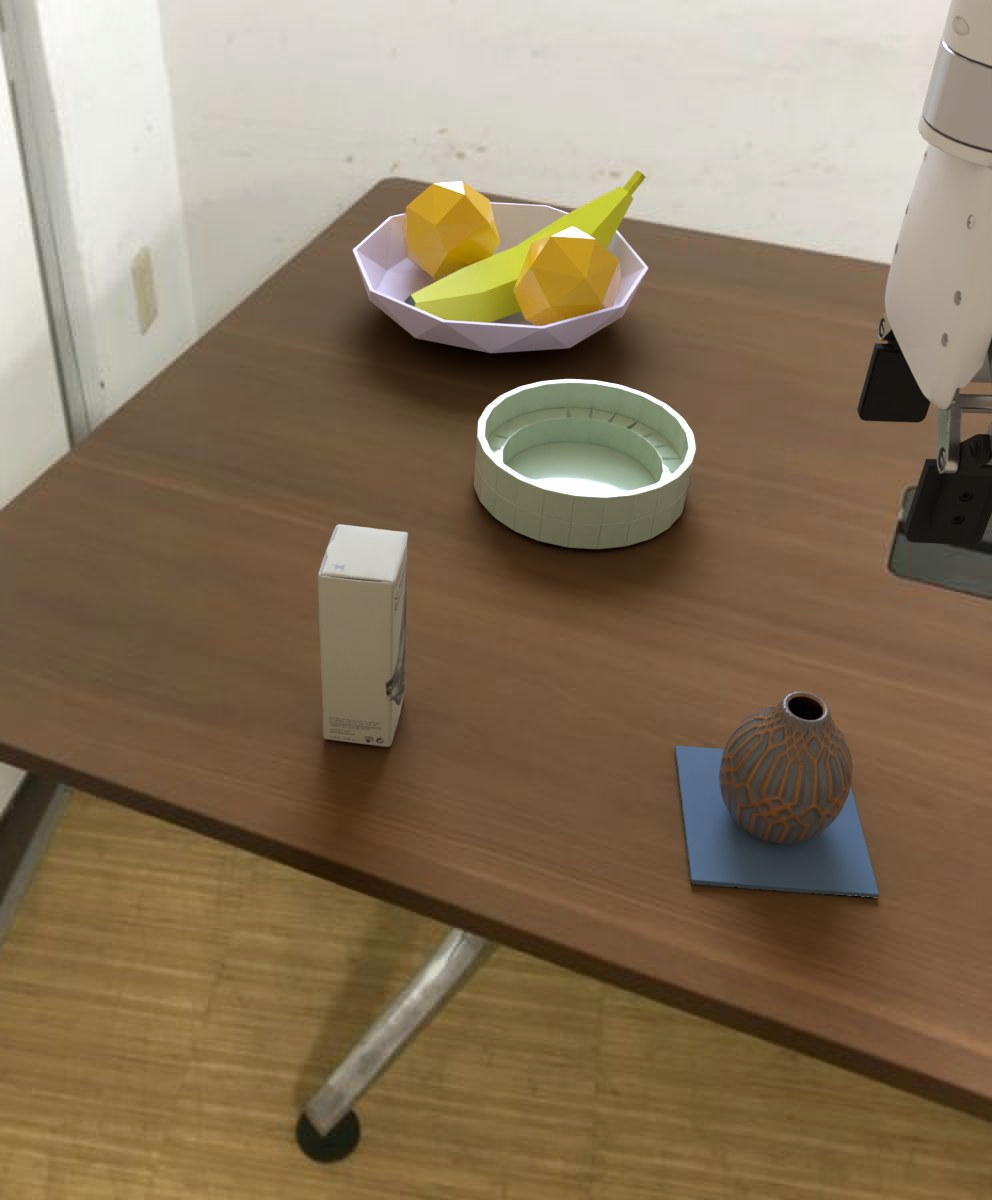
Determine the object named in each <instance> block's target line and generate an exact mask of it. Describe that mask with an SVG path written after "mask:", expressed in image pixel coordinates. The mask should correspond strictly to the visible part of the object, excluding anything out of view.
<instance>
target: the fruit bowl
mask: <svg viewBox="0 0 992 1200" xmlns="http://www.w3.org/2000/svg"><path fill="white" fill-rule="evenodd" d="M645 179H646V176H645V174H644V173H643V172H642V171H639V170H638V169H636V171H634V173H633V174H632V176H631V177H630V178H629V179H628V181H627V182H626V183H625V185H624V186H621V185H620V186H617V187H616V188H614V189H612V190H610V191H608V192H606V193H604V194H602V195H601V196H599V197H596V198H595V199H593V200H591V201H589V202H587V203H585V204H584V205H581V206H579V207H577V208H575V209H573V210H571V211H570V212H567V211H564V210H561V209H558V208H557V207H556V208H555V207H553V206H550V205H547V204H546V205H545V204H531V203H530V204H529V203H510V202H494V201H491V200H490V198H488V197H486V196H485V195H483V194H482V193H480V192H479V191H477V190H476V189H475V188H473V187H472V186H470V185H469V184H467V183H466V182H464V181H463V180H459V181H458V180H457V181H446V182H433V183H432V184H430V185H429V186H428V187H427V188H426V189H425V190H424V191H423V192H421V193H420V194H419V195H418V196H417V197H416V198H415V199H413V200H412V201H410V203H409V204H407V205H406V208H405V212H404V213H400V214H395V215H390V216H388V218H386V219H385V220H384V221H383V222H382V223H380V224H379V226H377V228H375V229H374V230H373V231H372V232H370V233H369V234H368V235H367V236H366V237H365V238H364V239H363V240H362V241H361V242H359V244H357V245H356V246H355V247H353V248H352V252H353V253H352V254H353V255H354V258H355V261H356V265H357V268H358V270H359V274H360V276H361V281H362V283H363V285H364V288H365V291H366V294H367V297H368V301H369V302H371V303H372V304H373V305H374V306H376V307H377V308H378V309H379V310H381V312H383V313H384V314H385V315H386V316H388V317H389V318H390V319H391V320H392V321H394V323H396V324H397V325H398V326H400V327H401V328H402V329H403V330H405V331H406V332H407V333H409V335H411V336H412V337H413V338H414V339H417V340H424V341H429V342H432V343H439V344H444V345H448V346H453V347H459V348H463V349H468V350H473V351H478V352H484V353H488V354H504V353H517V352H519V353H520V352H531V351H533V352H535V351H547V350H548V351H549V350H561V349H562V350H564V349H570V348H573V347H574V346H576V345H577V344H579V343H581V342H583V341H584V340H586V339H588V338H589V337H591V336H593V335H594V334H596V333H598V332H599V331H601V330H603V329H604V328H606V327H608V326H609V325H611V324H613V323H615V322H616V321H617V320H620V319H621V318H623V317H624V315H625V314H626V311H627V310H628V308H629V306H630V305H631V304H630V303H631V302H632V300H633V298H634V296H635V294H636V293H637V291H638V289H639V287H640V285H641V283H642V282H643V279H644V278H645V276H646V274H647V272H648V270H649V266H647V264H646V263H645V261H643V259H642V258H641V257H640V255H638V254H637V252H636V251H635V249H633V247H632V246H631V244H629V242H628V241H627V240H626V239H625V237H624V236H623V235H622V234H621V233H620V231H619V227H620V225H621V223H622V221H623V219H624V217H625V216H626V214H627V212H628V210H629V208H630V206H631V204H632V203H633V201H634V197H633V194H634V193H635V192H636V190H637V189H638V188H639V187H640V186H641V184H642V183H643V182H644V180H645Z"/></svg>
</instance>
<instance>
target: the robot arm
mask: <svg viewBox="0 0 992 1200" xmlns="http://www.w3.org/2000/svg"><path fill="white" fill-rule="evenodd" d="M927 87H928V88H927V91H926V94H925V99H924V101H923V105H922V108H921V109H922V110H921V113H920V118H919V120H918V126H917V129H918V131H919V134H920V135H921V137H922V139H923V140H924V141H926V142H927V143H928V144H927V146H926V149H925V151H924V155H923V158H922V159H921V163H920V166H919V169H918V172H917V175H916V177H915V181H914V184H913V187H912V190H911V193H910V196H909V199H908V203H907V206H906V209H905V212H904V215H903V219H902V222H901V225H900V229H899V233H898V236H897V239H896V243H895V247H894V251H893V254H892V259H891V262H890V267H889V271H888V276H887V281H886V285H885V286H886V287H885V293H884V309H885V311H884V313H883V314H882V315H881V316H880V317H879V320H878V324H877V325H878V326H877V338H878V341H880V342H886V343H879V342H874V346H873V349H872V354H871V356H870V361H869V364H868V369H867V371H866V375H865V379H864V383H863V387H862V391H861V394H860V398H859V401H858V404H857V408H856V409H857V414H858V416H859V418H860V419H861V420H862V421H864V422H883V423H884V422H885V423H886V422H888V423H889V422H890V423H921V422H923V421H924V420H925V419H926V417H927V415H928V413H929V409H930V405H931V404H932V405H933V406H935V407H936V408H938V413H937V415H938V418H937V435H936V436H937V439H936V457H935V458H925V461H924V464H923V467H922V470H921V473H920V477H919V479H918V482H917V485H916V488H915V491H914V494H913V498H912V501H911V504H910V507H909V510H908V513H907V515H906V519H905V522H904V526H903V532H904V535H905V538H906V540H907V541H908V542H910V543H916V544H918V543H919V544H943V545H944V544H945V545H967V546H968V545H971V546H972V545H973V546H974V545H977V544H978V543H980V542H981V541H982V540H983V538H984V535H985V532H986V530H987V527H988V525H989V523H990V519H991V516H992V421H990V423H989V424H988V426H987V428H988V429H987V430H988V431H987V432H986V433H976V434H974V435H972V436H971V437H969V438H967V439H965V440H963V441H962V429H963V428H962V426H963V425H962V424H963V423H962V422H963V414H987V415H988V414H989V415H990V414H991V415H992V394H981V393H979V394H978V393H960V389H965V388H966V387H967V386H968V385H969V383H978V384H980V383H981V384H992V0H951V1H950V4H949V9H948V12H947V16H946V19H945V24H944V27H943V31H942V34H941V38H940V41H939V45H938V48H937V52H936V57H935V60H934V64H933V67H932V72H931V75H930V79H929V83H928V86H927Z"/></svg>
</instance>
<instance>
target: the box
mask: <svg viewBox="0 0 992 1200" xmlns="http://www.w3.org/2000/svg"><path fill="white" fill-rule="evenodd" d="M408 538H409V533H408V532H407V531H398V530H391V529H383V528H374V527H367V526H360V525H359V526H357V525H349V524H340V523H338V524H337V525H336V526H335V527H334V529H333V532H332V534H331V537H330V540H329V542H328V544H327V547H326V550H325V553H324V556H323V558H322V562H321V565H320V568H319V570H318V573H317V582H318V583H317V591H318V593H317V595H318V618H319V619H318V620H319V623H318V624H319V646H320V647H319V648H320V675H321V677H320V678H321V700H322V701H321V704H322V706H321V707H322V737H323V739H324V740H330V741H337V742H345V743H351V744H360V745H368V746H375V747H384V748H389V747H392V744H393V740H394V737H395V734H396V731H397V728H398V724H399V719H400V715H401V712H402V706H403V703H404V698H405V697H404V696H405V684H406V683H405V681H406V677H405V676H406V636H407V567H408V565H407V564H408V561H407V560H408V540H409V539H408Z"/></svg>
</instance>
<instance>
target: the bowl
mask: <svg viewBox="0 0 992 1200" xmlns="http://www.w3.org/2000/svg"><path fill="white" fill-rule="evenodd" d="M476 428H477V429H476V443H475V458H474V459H475V461H474V474H473V488H474V490H475V493H476V495H477V498H478V500H479V502H480V503H481V504H482V506H483V507H484V508H485V509H486V511H487V512H488V513H489V514H490V515H491V516H492V517H493V518H494V519H495V520H496V521H498V522H500V523H502V524H503V525H504V526H506V527H508V528H509V529H510V530H512V531H513V532H516V533H518V534H520V535H522V536H525V537H528V538H530V539H533V540H535V541H537V542H541V543H545V544H550V545H555V546H559V547H564V548H569V549H570V548H571V549H584V550H585V549H586V550H603V549H604V550H605V549H606V550H607V549H613V548H624V547H629V546H632V545H635V544H638V543H642V542H645V541H649V540H652V539H653V538H655V537H657V536H658V535H660V534H662V533H664V532H665V531H667V530H669V529H670V528H671V527H672V525H674V523H675V522H676V521H677V520H678V519H679V518H680V517H681V515H682V514H683V511H684V508H685V504H686V501H687V497H688V492H689V488H690V483H691V477H692V473H693V469H694V463H695V462H694V461H695V458H696V453H697V445H696V444H697V443H696V439H695V434H694V432H693V430H692V429H691V427H690V426H689V424H688V422H687V421H686V419H685V418H684V417H683V416H682V415H681V414H679V413H678V412H677V411H676V410H675V409H673V408H672V407H671V406H670V405H668V404H667V403H665V402H663V401H662V400H660V399H657V397H654V396H652V395H650V394H648V393H646V392H643V391H640V390H637V389H633V388H631V387H628V386H625V385H622V384H617V383H611V382H607V381H601V380H595V379H578V378H577V379H576V378H564V379H552V380H551V379H549V380H542V381H536V382H533V383H529V384H525V385H520V386H517V387H516V388H514V389H511V390H509V391H507V392H505V393H503V394H501V395H499V396H498V397H496V398H495V399H494V400H493V401H492V402H490V403H489V404H487V406H485V408H484V410H483V412H482V413H481V415H480V416H479V418H478V420H477V427H476Z"/></svg>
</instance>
